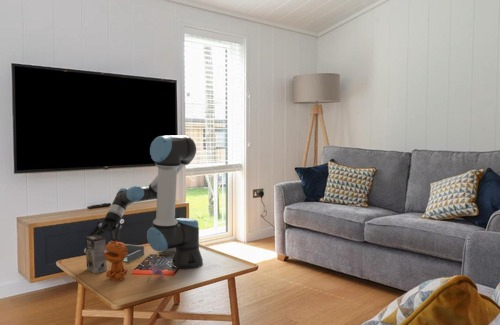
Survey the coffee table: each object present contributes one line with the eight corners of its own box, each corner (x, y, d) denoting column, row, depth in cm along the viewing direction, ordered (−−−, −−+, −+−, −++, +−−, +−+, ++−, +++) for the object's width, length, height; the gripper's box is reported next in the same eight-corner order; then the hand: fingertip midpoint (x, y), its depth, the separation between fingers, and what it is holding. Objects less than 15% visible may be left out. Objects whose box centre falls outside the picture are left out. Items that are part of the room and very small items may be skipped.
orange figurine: (101, 277, 201) (100, 238, 200) (125, 273, 206) (124, 235, 205) (106, 284, 191) (105, 244, 190) (131, 280, 197) (130, 240, 195)
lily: (162, 288, 189) (171, 266, 192) (137, 278, 188) (146, 257, 191) (162, 287, 201) (171, 267, 204) (138, 278, 200) (147, 258, 203)
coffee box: (86, 269, 212) (84, 236, 211) (99, 266, 217) (97, 234, 216) (94, 273, 206) (92, 240, 204) (107, 270, 210) (105, 237, 209)
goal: (144, 255, 236) (143, 245, 236) (128, 262, 223) (128, 252, 223) (118, 252, 241) (118, 243, 241) (102, 259, 228) (102, 250, 228)
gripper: (137, 220, 223) (119, 259, 209) (99, 218, 230) (79, 255, 217) (130, 212, 217) (112, 251, 204) (92, 210, 225) (71, 247, 211)
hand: (95, 253), depth 210 cm, fingers closed on coffee box, 10 cm apart
